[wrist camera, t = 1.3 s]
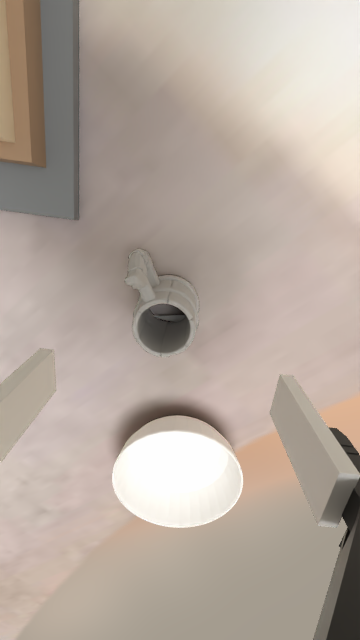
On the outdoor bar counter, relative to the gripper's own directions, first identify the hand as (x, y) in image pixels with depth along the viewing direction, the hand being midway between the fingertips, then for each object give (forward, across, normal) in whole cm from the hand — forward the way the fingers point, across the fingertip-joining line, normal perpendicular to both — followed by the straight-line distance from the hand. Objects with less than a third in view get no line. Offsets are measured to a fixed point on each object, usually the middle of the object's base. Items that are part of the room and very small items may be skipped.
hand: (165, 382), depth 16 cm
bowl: (+22, +3, -25) cm, 34 cm away
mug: (+22, -2, 0) cm, 22 cm away
